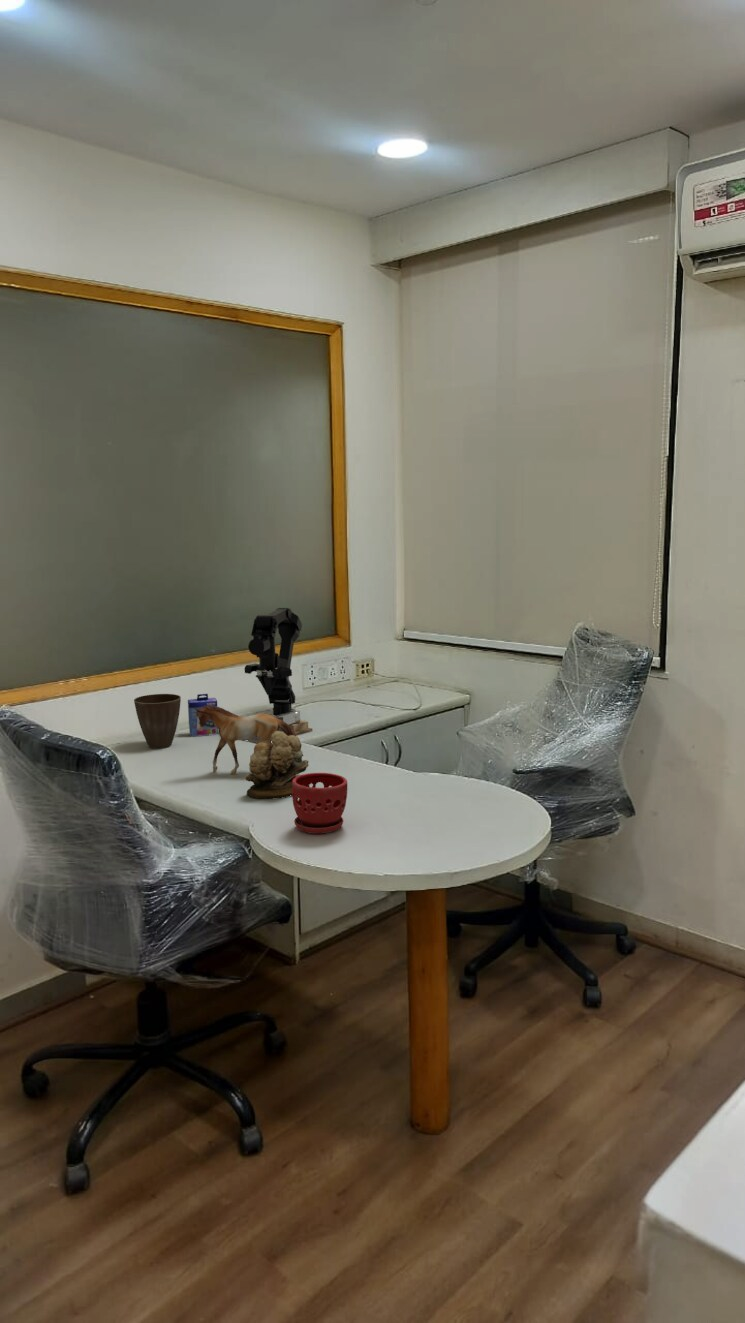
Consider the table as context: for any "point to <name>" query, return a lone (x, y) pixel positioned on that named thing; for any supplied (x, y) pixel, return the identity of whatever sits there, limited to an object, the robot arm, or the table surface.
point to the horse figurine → (239, 728)
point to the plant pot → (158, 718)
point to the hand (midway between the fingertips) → (268, 694)
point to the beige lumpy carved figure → (275, 767)
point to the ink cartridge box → (196, 703)
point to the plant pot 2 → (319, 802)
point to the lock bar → (290, 717)
